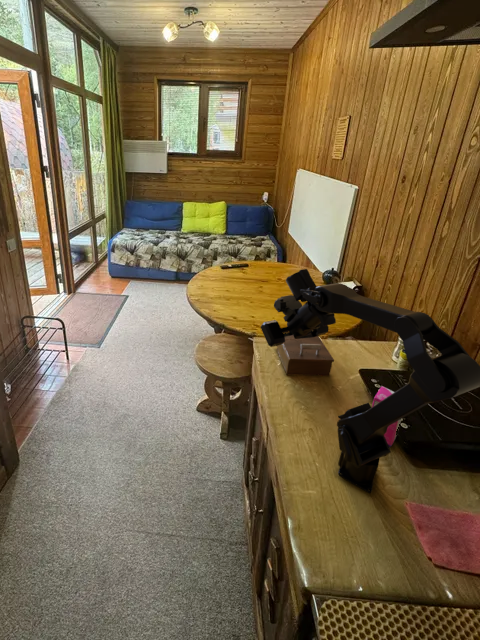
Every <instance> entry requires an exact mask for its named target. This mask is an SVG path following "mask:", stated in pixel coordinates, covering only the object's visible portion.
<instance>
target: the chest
mask: <svg viewBox="0 0 480 640" xmlns="http://www.w3.org/2000/svg"><path fill="white" fill-rule="evenodd" d="M276 352H277V355H278V357H279V359H280V363H281V364H282V368H283V370H284V372H285V374H286V375H288V376H322V377H323V376H327V377H328V376H330V375H331V371H332V367H333V366H332V365H333V362H313V361H290V360H289V358H288V356H287V354H286V351H285V349H284V347H283V345H278V346H276Z"/></svg>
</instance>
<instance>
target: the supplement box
mask: <svg viewBox="0 0 480 640" xmlns="http://www.w3.org/2000/svg"><path fill="white" fill-rule="evenodd" d="M394 392H395V391H393V390H392V389H389V388H388V387H385V386H383V385H381V386H380V388H379V390H378V391H377V392H376V394H375V396H374V397H373V401H372V405H371V408H372V407H373V406H375V405H376V404H378V403H379V402H381V401H382V400H384V399H385V398H387V397H388V396H390V395H391V394H393V393H394ZM401 421H402V419H400V420H398V421H397V422H395V423H393V424H391V425H389V426H388V427H387V432H386V433H385V434H384V437H385V439H386V441H387V443H388V446H389V448H392V446H393V444H394V442H395V441H396V438H397V436H398V434H397V435H396V431H397V429H398V427H399V428H400V426H399V424H400V425H401ZM398 430H399V429H398Z"/></svg>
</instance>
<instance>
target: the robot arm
mask: <svg viewBox="0 0 480 640" xmlns="http://www.w3.org/2000/svg"><path fill="white" fill-rule="evenodd" d="M285 282H286V284H287V286H288V289H289V290H290V292H291V294H288V295H284V296H280V297H278V298H277V299H276V300H275V301H274V303H273V308H274V309H275V310H276V311H277V313H282V314H283V315H284V316H283V320H284V322H286V326H284V327H281V326H280V323H279V321H278V320H276V319H272V320H267V321H264V322H263V323H262V324H261V325H260V329H261V331H262V334H263V336H264V338H265V341H266V343H267V345H268V346H269V347H271V348H272V347H277V346H278V345H282V344H283V343H284V342H285V337H288V336H292V335H294V338H295V339H301V338H312V337H317V336H319V337H321V336H324V335H326V334H327V333H329V326H330V325H335V324H336V323H337V321H336V317H335V314H339V315H340V314H341V315H347V316H351V317H353V318H355V319H358V320H361V321H364V322H367V323H369V324H372V325H374V326H377V327H380V328H382V329H385V330H387V331H390V332H393V333H396V334H397V335H398V336H399V338H400V339H401V341H402V343H403V344H402V345H403V347H404V352H405V356H406V360H407V362H408V363H409V365H410V366H411V368H412V369H413V371H412V372H411V374H409V380H408V382H407V383H406V384H405V385H403V386H402V387H400V388H398V389H397V390H395V391H393V392H394V393H393V394H391V395H390V396H388V397H387V398H385V399H384V400H382V401H381V402H379V403H378V404H376V405H375V406H373V407H372V405H371V404H370V403H369V402H365V403H362V404H359V405H356V406H354V407H351V408H348V409H347V410H346V411H345V412H344V413H342V414H340V415H337V416H338V420H337V423H336V426H337V438H338V448H339V451H340V455H339V459H338V464H337V465H338V467H339V469H338V473H337V474H338V476H339V477H341V478H342V479H344V480H346V481H347V482H349V483H350V484H352V485H354V486H356V487H357V488H359V489H362V490H363V491H364V492H366V493H368V494H372V492H373V486H374V483H375V482H374V481H375V478H376V474H377V471H378V468H379V464H380V458H383V457H386V456H387V455H389V454H391V452H392V451H391V447H389V446H388V443H387V441H386V439H385V437H384V434H385V433H386V432H387V427H388V426H389V425H391V424H393V423H395V422H397V421H398V420H400V419H401V420H403V419H404V418H405V417H408V416H409V415H411V414H413V413H415V412H417V411H418V410H420V409H422V408H424V407H426V406H427V405H429V404H433V403H438V402H442V401H446V400H450V399H453V398H455V397H458V396H460V395H463V394H465V393H468V392H470V391H473V390H476V389H477V388H480V364H479V362H477V361H476V360H475V359H474V358H472V357H471V356H470V354H469V353H468V352H467V351H466V349H465V348H464V347H463V346H462V345H461V344H462V343H460V342H459V341H458V340H457V339H455V338H454V337H453V336H452V335H450V334H449V333H447V332H446V331H444V330H443V329H442V328H440V326H438V324H437V323H436V321H434V319H433V318H432V317H431V316H430V315H429V314H427V313H425V312H422V311H414V310H410V309H408V308H403V307H401V306H397V305H394V304H391V303H386V302H384V301H381V300H376V299H373V298H370V297H366V296H363V295H360V294H358V293H357V292H356V291H355V290H354V289H353V288H352V287H349V286H348V285H345V284H344V283H341V282H340V283H339V282H337V283H331V284H322V285H316V283H315V281H314V279H313V278H312V276H311V274H310V271H309V270H308V268H303V269H299V271H297V272H294V273H292V274H291V275H288V276H287V277H286V278H285ZM302 303H304V304H302ZM425 342H427V343H428V344H429V345H430V346H432V347H433V348H435V350H437V351H438V352H439V353H440V354H441V355H437V356H435V357H431V355H430V354H429V353H428V350H427V347H426V343H425Z"/></svg>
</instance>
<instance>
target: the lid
mask: <svg viewBox="0 0 480 640" xmlns="http://www.w3.org/2000/svg"><path fill="white" fill-rule="evenodd" d="M282 345H283V347H284V349H285V351H286V354H287V356H288V358H289V360H290V361H313V362H332V363H334V362H335V359H334V358H333V356H332V354H331V353H330V351H329V350H328V349H327V347H326V345H325V344H324V342H323V341H322V339H321V338H320V336H317V337H312V338H301V339H295V338H294V335H292V336H288V337H285V342H284V343H283V344H282Z"/></svg>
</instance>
